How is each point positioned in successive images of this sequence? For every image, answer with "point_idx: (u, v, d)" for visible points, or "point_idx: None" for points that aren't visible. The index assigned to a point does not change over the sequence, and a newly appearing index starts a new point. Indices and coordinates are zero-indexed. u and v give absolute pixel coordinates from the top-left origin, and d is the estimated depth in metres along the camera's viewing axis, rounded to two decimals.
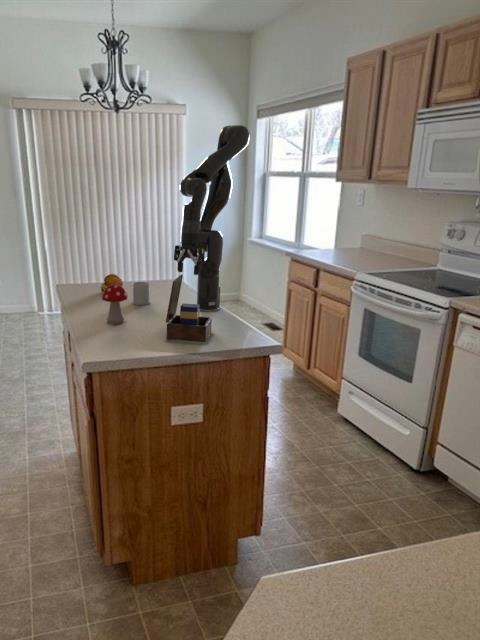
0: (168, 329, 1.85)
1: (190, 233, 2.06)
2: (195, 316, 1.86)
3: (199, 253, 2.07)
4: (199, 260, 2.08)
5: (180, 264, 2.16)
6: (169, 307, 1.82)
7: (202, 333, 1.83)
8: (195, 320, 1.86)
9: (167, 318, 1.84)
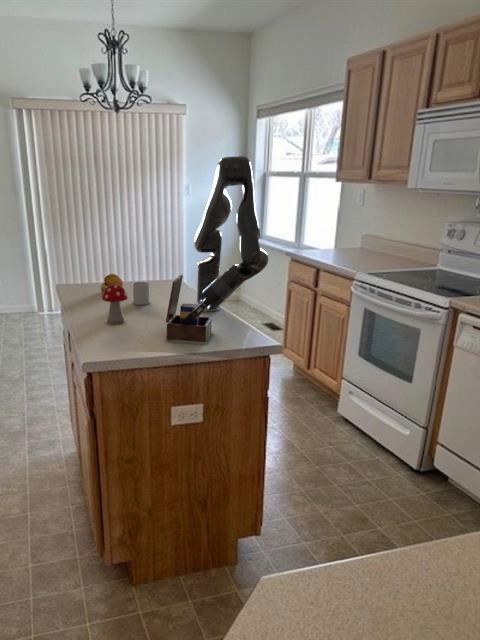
0: (168, 329, 1.85)
1: None
2: None
3: None
4: None
5: None
6: (169, 307, 1.82)
7: (202, 333, 1.83)
8: (195, 320, 1.86)
9: (167, 318, 1.84)
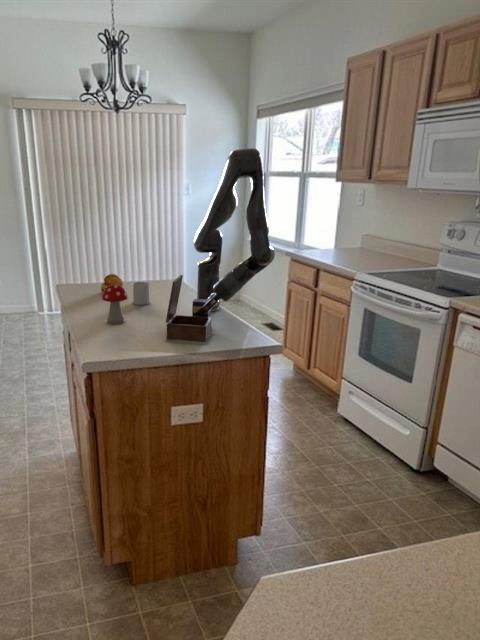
0: (168, 329, 1.85)
1: None
2: None
3: None
4: None
5: None
6: (169, 307, 1.82)
7: (202, 333, 1.83)
8: (206, 314, 1.97)
9: (167, 318, 1.84)
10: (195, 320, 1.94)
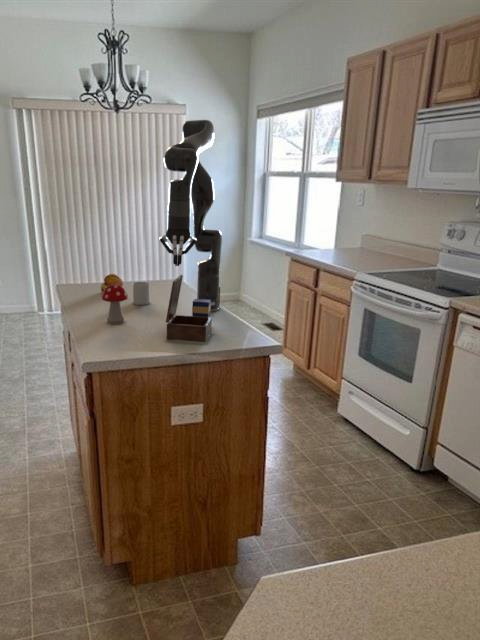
0: (168, 329, 1.85)
1: (186, 217, 1.74)
2: (206, 311, 1.97)
3: (192, 244, 1.79)
4: (187, 250, 1.80)
5: (177, 256, 1.82)
6: (169, 307, 1.82)
7: (202, 333, 1.83)
8: (206, 314, 1.97)
9: (167, 318, 1.84)
10: (195, 320, 1.94)
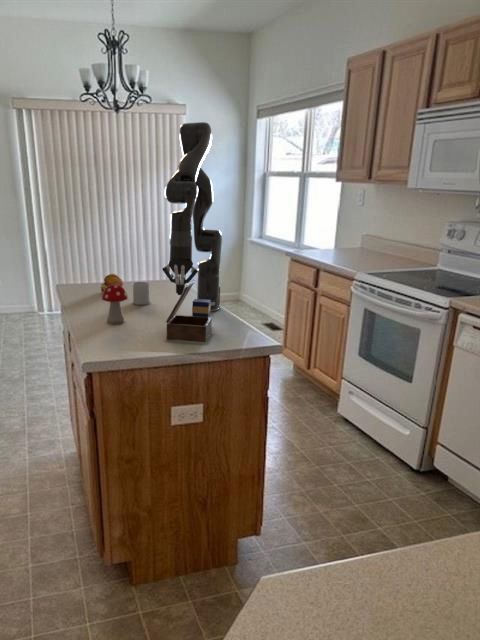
0: (168, 329, 1.85)
1: (186, 246, 1.77)
2: (206, 311, 1.97)
3: (193, 273, 1.81)
4: (188, 279, 1.83)
5: None
6: (174, 309, 1.82)
7: (202, 333, 1.83)
8: (206, 314, 1.97)
9: (168, 319, 1.84)
10: (195, 320, 1.94)
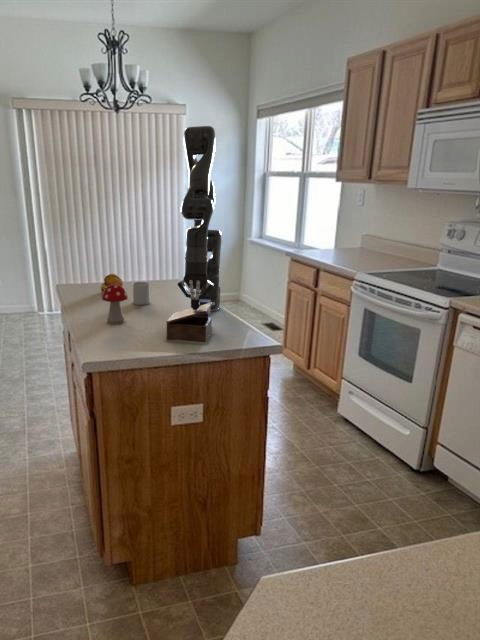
0: (168, 329, 1.85)
1: (201, 262, 1.78)
2: None
3: (208, 288, 1.82)
4: (203, 294, 1.83)
5: None
6: (181, 318, 1.83)
7: (202, 333, 1.83)
8: (206, 314, 1.97)
9: (170, 321, 1.84)
10: (195, 320, 1.94)
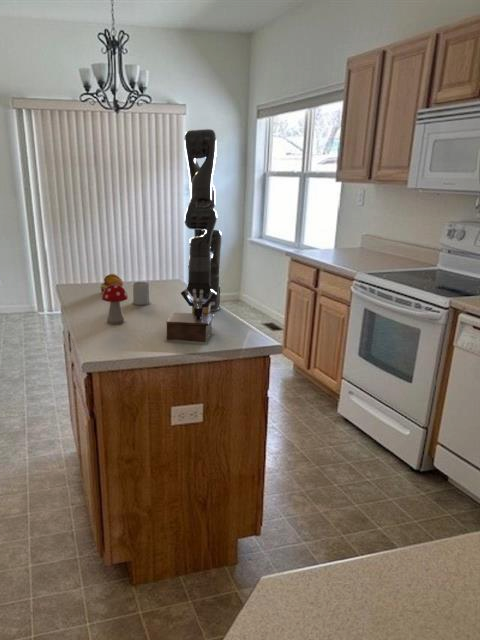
0: (168, 329, 1.85)
1: (205, 271, 1.79)
2: (206, 311, 1.97)
3: (211, 297, 1.83)
4: (207, 303, 1.84)
5: None
6: (182, 323, 1.83)
7: (202, 333, 1.83)
8: None
9: (171, 322, 1.84)
10: None
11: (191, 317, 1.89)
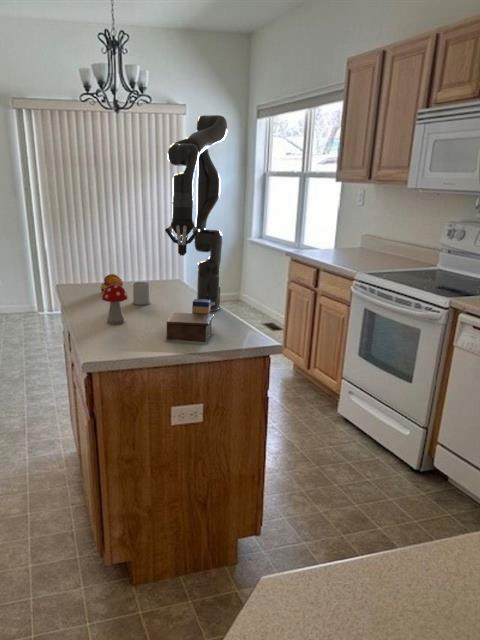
0: (168, 329, 1.85)
1: (187, 207, 1.86)
2: (206, 311, 1.97)
3: (194, 234, 1.90)
4: (190, 240, 1.91)
5: None
6: (182, 323, 1.83)
7: (202, 333, 1.83)
8: None
9: (171, 322, 1.84)
10: None
11: (191, 317, 1.89)
